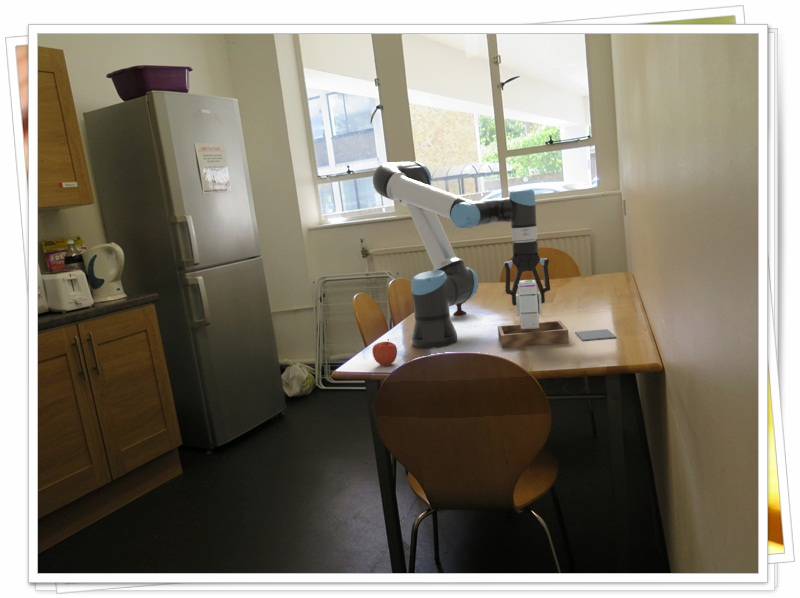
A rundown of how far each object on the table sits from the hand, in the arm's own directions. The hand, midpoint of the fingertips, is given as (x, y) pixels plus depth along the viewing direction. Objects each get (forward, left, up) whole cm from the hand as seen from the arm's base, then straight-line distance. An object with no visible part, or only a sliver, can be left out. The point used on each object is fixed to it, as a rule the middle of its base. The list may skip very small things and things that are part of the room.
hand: (529, 314), depth 178 cm
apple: (-45, -14, -9) cm, 48 cm away
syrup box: (0, 0, -4) cm, 4 cm away
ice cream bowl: (-22, +50, -9) cm, 55 cm away
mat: (+19, -1, -8) cm, 21 cm away
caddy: (0, 0, -8) cm, 8 cm away
